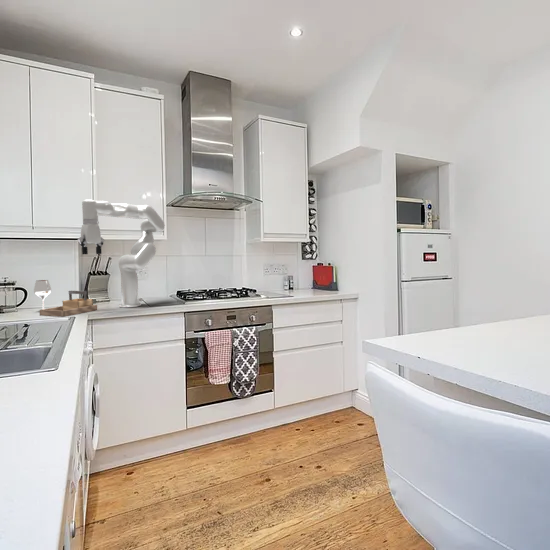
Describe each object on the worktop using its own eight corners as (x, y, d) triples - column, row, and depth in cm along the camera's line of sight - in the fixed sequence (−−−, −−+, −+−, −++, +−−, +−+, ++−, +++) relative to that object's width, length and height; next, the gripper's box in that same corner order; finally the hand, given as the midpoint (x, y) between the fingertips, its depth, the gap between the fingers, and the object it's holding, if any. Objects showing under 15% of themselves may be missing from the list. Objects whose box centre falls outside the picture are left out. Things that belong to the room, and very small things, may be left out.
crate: (78, 309, 212) (77, 289, 211) (93, 309, 208) (92, 290, 207) (63, 311, 202) (62, 291, 202) (78, 312, 199) (77, 292, 198)
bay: (75, 310, 213) (75, 303, 213) (97, 312, 208) (97, 304, 207) (39, 317, 192) (39, 309, 192) (63, 319, 187) (63, 311, 187)
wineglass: (35, 314, 202) (33, 281, 200) (34, 312, 208) (32, 280, 207) (53, 312, 206) (51, 280, 205) (51, 311, 213) (49, 279, 212)
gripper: (97, 224, 213) (98, 254, 214) (72, 222, 197) (73, 254, 198) (108, 223, 211) (109, 253, 212) (83, 221, 194) (84, 254, 196)
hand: (92, 254), depth 205 cm, fingers open, 9 cm apart
